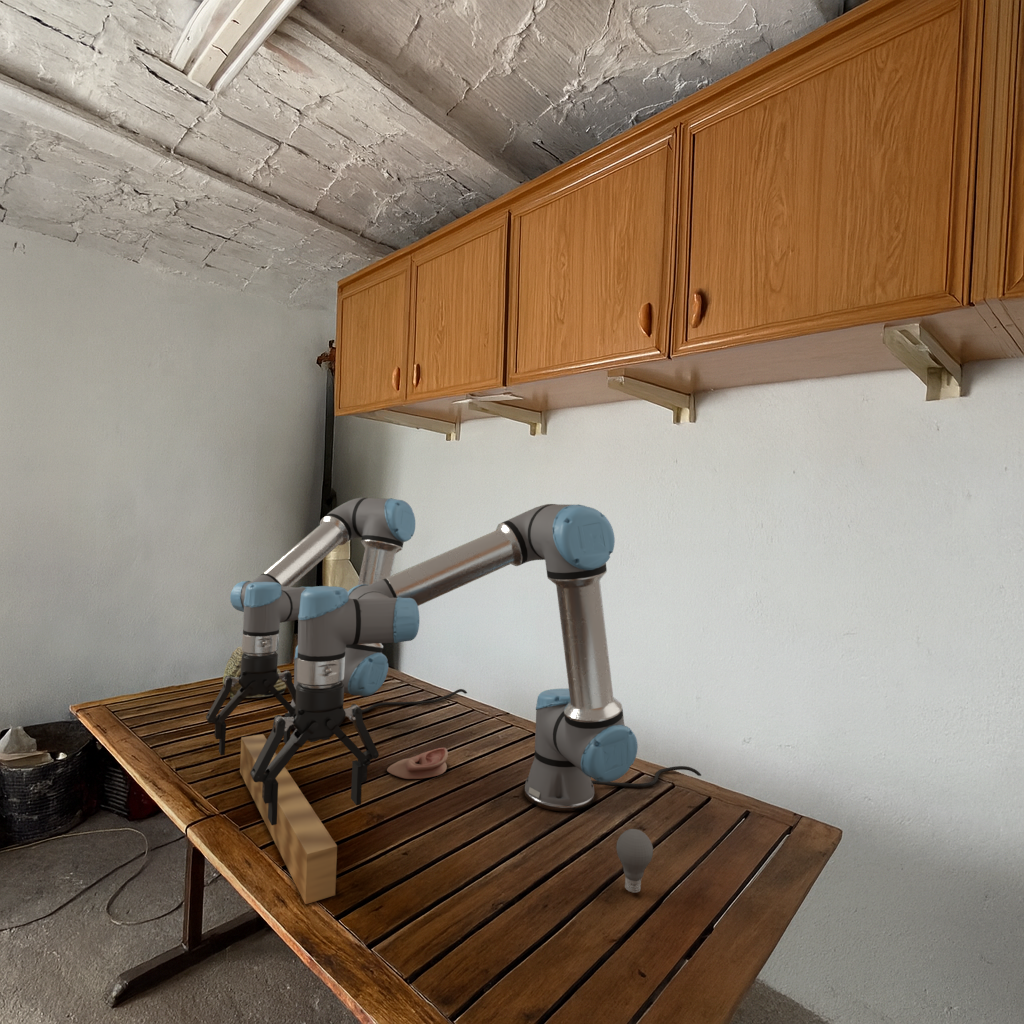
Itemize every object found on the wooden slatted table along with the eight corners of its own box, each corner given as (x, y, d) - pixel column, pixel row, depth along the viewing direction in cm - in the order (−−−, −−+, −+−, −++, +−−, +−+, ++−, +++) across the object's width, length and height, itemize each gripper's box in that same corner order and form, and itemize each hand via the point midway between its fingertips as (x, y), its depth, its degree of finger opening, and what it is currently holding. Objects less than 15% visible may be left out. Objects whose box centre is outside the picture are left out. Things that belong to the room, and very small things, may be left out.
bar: (239, 772, 144) (241, 737, 143) (261, 768, 146) (263, 733, 146) (305, 904, 99) (307, 853, 99) (335, 895, 101) (337, 845, 101)
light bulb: (610, 879, 108) (613, 822, 108) (644, 879, 109) (647, 822, 109) (619, 902, 102) (622, 840, 102) (655, 901, 103) (658, 840, 103)
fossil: (218, 695, 195) (220, 647, 195) (278, 685, 208) (279, 640, 207) (228, 703, 189) (230, 653, 188) (289, 692, 201) (290, 645, 201)
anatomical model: (382, 758, 144) (400, 740, 156) (381, 775, 145) (400, 756, 156) (437, 765, 142) (452, 746, 153) (436, 783, 142) (451, 763, 153)
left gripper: (200, 661, 130) (194, 763, 130) (321, 651, 144) (316, 744, 144) (195, 653, 137) (190, 751, 137) (311, 644, 150) (307, 734, 150)
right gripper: (243, 699, 93) (238, 841, 94) (400, 679, 107) (395, 803, 107) (234, 685, 100) (229, 819, 100) (384, 668, 113) (379, 785, 114)
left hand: (254, 748), depth 140 cm, fingers open, 13 cm apart
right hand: (315, 811), depth 104 cm, fingers open, 13 cm apart
